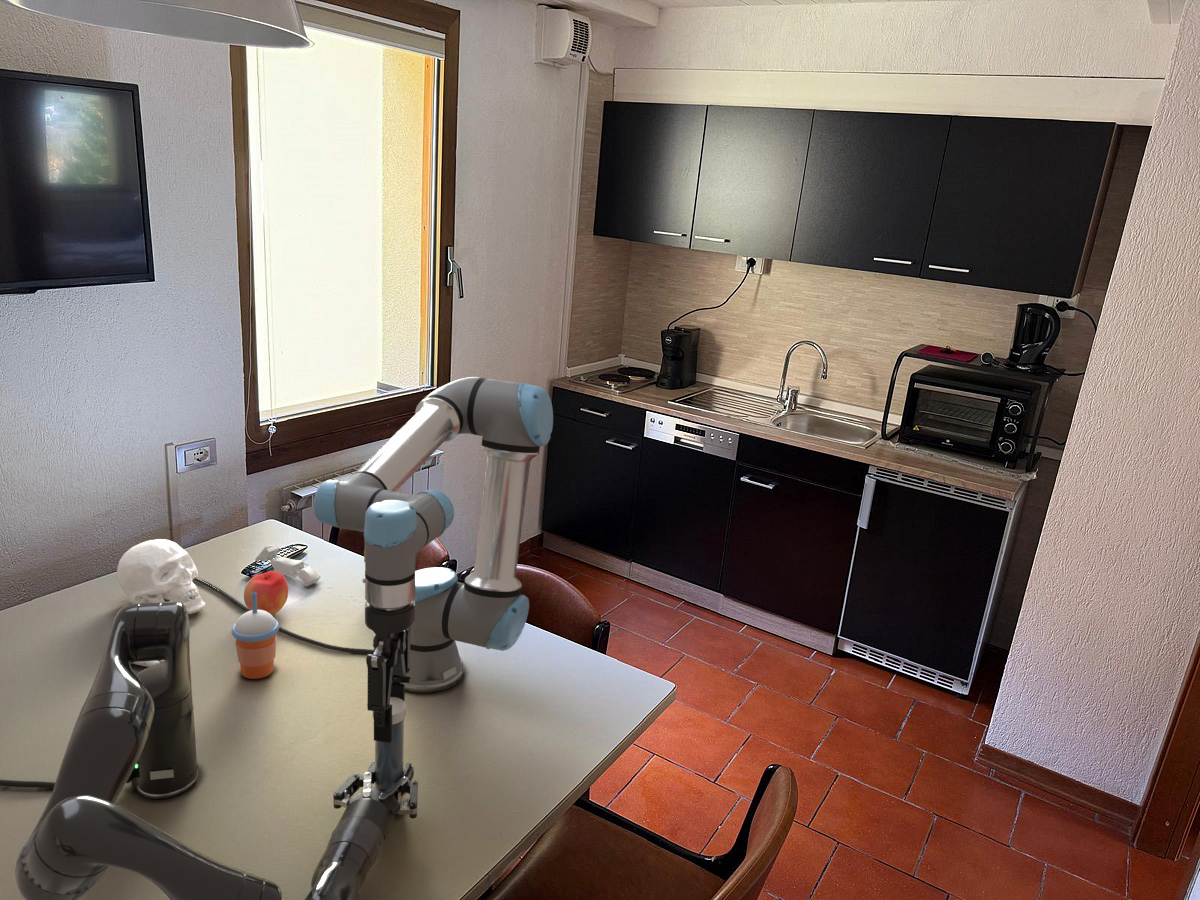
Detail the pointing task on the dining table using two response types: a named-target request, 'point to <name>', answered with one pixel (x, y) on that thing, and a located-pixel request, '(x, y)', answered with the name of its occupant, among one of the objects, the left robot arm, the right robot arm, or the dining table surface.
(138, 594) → the skull
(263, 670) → the cup with straw
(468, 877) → the dining table surface
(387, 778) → the jar
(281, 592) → the apple
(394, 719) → the lid
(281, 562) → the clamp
